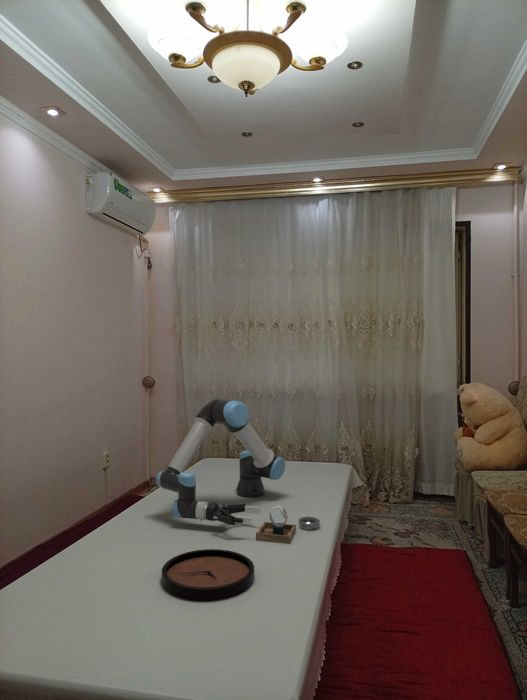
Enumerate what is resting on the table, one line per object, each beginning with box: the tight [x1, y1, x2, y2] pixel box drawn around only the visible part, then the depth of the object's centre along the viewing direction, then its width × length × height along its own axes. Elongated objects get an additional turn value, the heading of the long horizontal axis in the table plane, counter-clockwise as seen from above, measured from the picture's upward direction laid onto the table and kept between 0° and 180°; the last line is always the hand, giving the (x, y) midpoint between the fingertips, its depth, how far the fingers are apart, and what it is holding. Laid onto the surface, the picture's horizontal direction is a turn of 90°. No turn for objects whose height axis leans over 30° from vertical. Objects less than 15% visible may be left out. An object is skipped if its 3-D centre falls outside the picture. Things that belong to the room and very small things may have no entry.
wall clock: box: [161, 548, 255, 602], centre depth 176 cm, size 31×4×31 cm
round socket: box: [298, 516, 320, 532], centre depth 225 cm, size 9×9×3 cm
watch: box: [268, 505, 289, 535], centre depth 216 cm, size 6×8×11 cm
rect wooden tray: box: [255, 521, 297, 545], centre depth 215 cm, size 14×14×3 cm
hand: (255, 515), depth 217 cm, fingers open, 13 cm apart
